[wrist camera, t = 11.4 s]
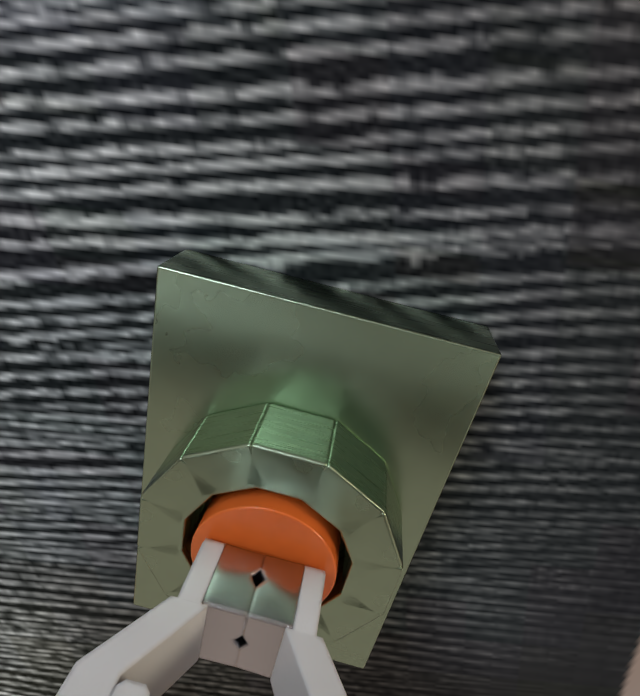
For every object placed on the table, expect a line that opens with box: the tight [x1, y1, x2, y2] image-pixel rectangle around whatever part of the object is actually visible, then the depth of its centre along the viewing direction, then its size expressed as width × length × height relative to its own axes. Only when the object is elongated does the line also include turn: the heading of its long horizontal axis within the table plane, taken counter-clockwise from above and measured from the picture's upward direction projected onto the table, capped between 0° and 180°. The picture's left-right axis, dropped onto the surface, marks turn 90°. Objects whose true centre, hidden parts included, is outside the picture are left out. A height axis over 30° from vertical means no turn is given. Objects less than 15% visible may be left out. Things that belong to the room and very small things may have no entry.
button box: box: [134, 250, 501, 668], centre depth 13 cm, size 12×8×4 cm, turn 167°
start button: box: [191, 488, 341, 601], centre depth 12 cm, size 4×4×2 cm
